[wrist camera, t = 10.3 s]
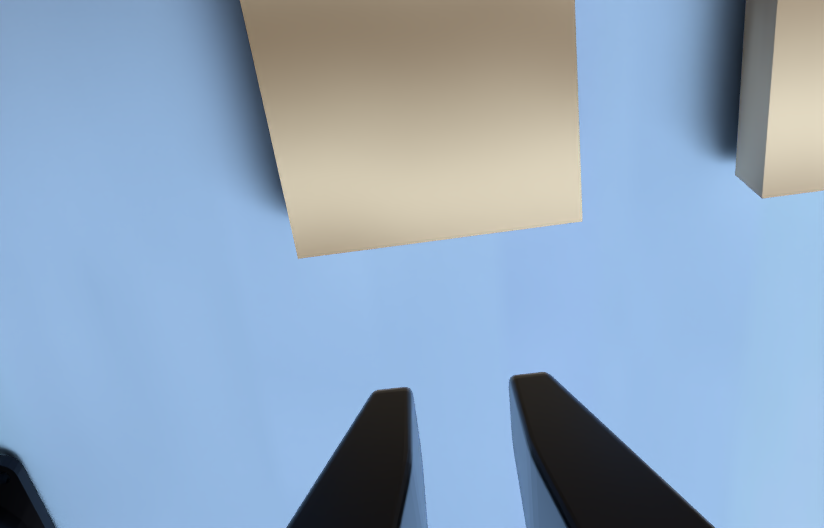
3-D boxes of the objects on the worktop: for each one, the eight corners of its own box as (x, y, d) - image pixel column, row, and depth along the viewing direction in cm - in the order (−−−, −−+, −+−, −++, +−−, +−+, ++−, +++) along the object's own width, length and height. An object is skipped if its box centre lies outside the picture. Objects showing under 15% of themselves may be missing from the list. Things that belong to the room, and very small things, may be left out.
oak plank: (568, 196, 19) (581, 221, 17) (304, 231, 19) (298, 258, 18) (552, -182, 15) (568, -186, 14) (226, -132, 15) (210, -132, 14)
